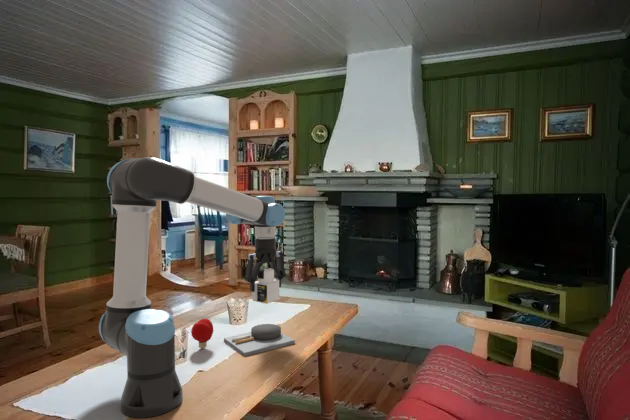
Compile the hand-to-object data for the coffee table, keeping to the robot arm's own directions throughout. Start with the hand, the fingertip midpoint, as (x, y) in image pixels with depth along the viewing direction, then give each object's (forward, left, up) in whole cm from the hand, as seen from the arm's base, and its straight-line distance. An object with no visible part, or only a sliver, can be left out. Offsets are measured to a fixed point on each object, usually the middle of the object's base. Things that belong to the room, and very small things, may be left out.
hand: (265, 298), depth 156 cm
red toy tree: (-23, +4, -15) cm, 28 cm away
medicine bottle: (0, 0, -1) cm, 1 cm away
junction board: (-4, -2, -15) cm, 16 cm away
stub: (0, 0, -14) cm, 14 cm away
